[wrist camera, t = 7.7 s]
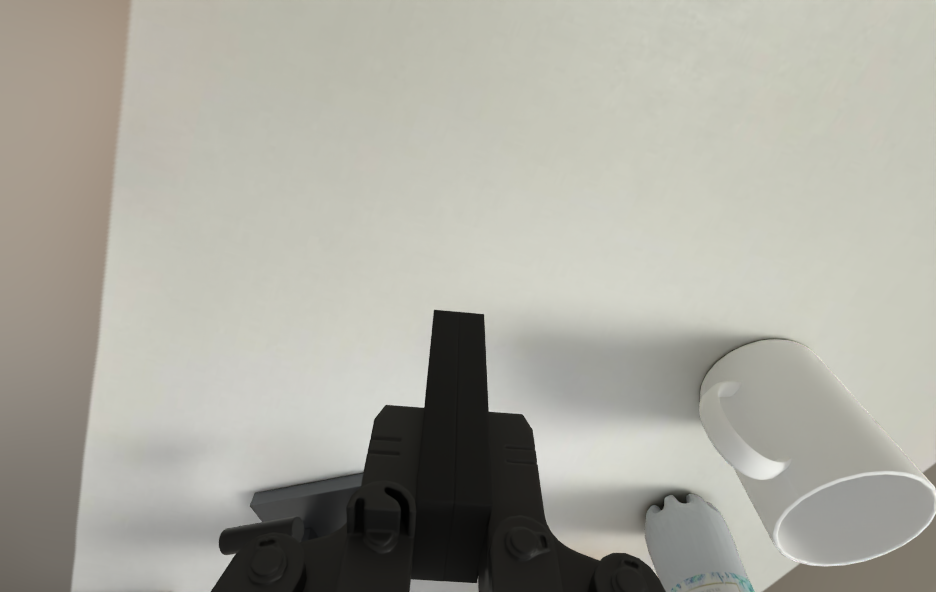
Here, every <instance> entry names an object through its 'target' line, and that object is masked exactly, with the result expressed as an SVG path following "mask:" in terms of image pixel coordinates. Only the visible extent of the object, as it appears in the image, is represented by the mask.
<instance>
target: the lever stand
mask: <svg viewBox="0 0 936 592" xmlns="http://www.w3.org/2000/svg"><path fill="white" fill-rule="evenodd" d="M362 477H363V473H361V474H356V475H350V476H345V477H340V478H334V479H329V480H323V481H318V482H313V483H307V484H302V485H297V486H291V487H286V488H280V489H275V490H270V491H264V492H259V493H255V494H254V497H253V499H252V502H251V504H250V507H251V508H252V509H253V511H254V512H255V513H256V515H257V516H258V517H259V518H260V520H261V521H262V522H267V521H272V520H278V519H283V518H289V517H295V516H299V517H300V518H301V519H302V521H303V524H304V535H303V538H302V540H301V541H300V542H303V541H307V540H311V539H315V538H319V537H323V536H326V535H328V534H331V533H333V532H335V531H336V530H338V529H340V528H341V527H342V526H343V525H344V524H345V523H347V515H346V507H347V504H348V502H349V500H350V498H351V496H352V495H353V494H354V493H355V492H356V491H357V490H358V489H359V488H360V487H361V482H362Z"/></svg>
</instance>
